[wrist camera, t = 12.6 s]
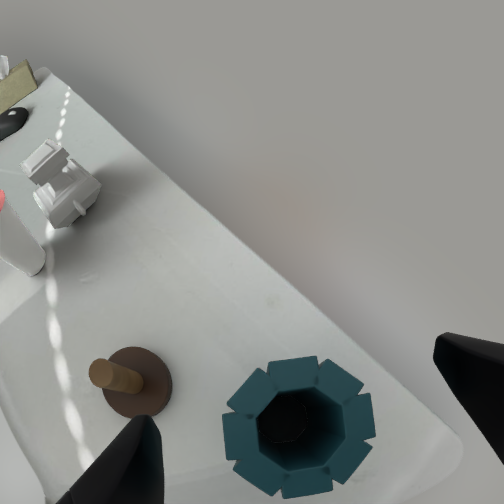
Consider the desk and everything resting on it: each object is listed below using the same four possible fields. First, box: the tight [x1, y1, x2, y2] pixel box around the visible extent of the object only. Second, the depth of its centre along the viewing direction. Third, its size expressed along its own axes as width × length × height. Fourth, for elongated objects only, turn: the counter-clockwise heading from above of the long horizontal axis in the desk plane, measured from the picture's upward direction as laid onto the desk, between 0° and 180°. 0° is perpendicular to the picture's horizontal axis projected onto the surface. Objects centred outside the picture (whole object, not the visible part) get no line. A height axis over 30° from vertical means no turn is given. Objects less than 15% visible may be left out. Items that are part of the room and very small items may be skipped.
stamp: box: [19, 138, 101, 229], centre depth 25 cm, size 9×7×8 cm
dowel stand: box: [89, 347, 172, 418], centre depth 17 cm, size 6×6×6 cm
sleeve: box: [222, 356, 376, 499], centre depth 14 cm, size 6×6×10 cm
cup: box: [0, 190, 46, 276], centre depth 20 cm, size 5×5×12 cm
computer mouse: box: [0, 107, 28, 140], centre depth 39 cm, size 8×12×4 cm, turn 106°
